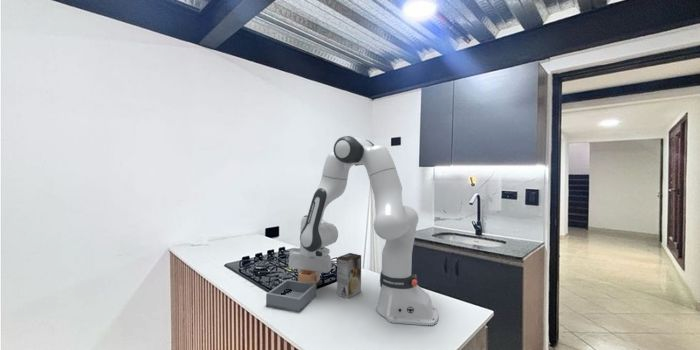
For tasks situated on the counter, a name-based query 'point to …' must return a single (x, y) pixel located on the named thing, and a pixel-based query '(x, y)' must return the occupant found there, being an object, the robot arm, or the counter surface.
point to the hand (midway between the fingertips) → (309, 279)
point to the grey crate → (291, 296)
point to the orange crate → (308, 276)
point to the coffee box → (348, 275)
